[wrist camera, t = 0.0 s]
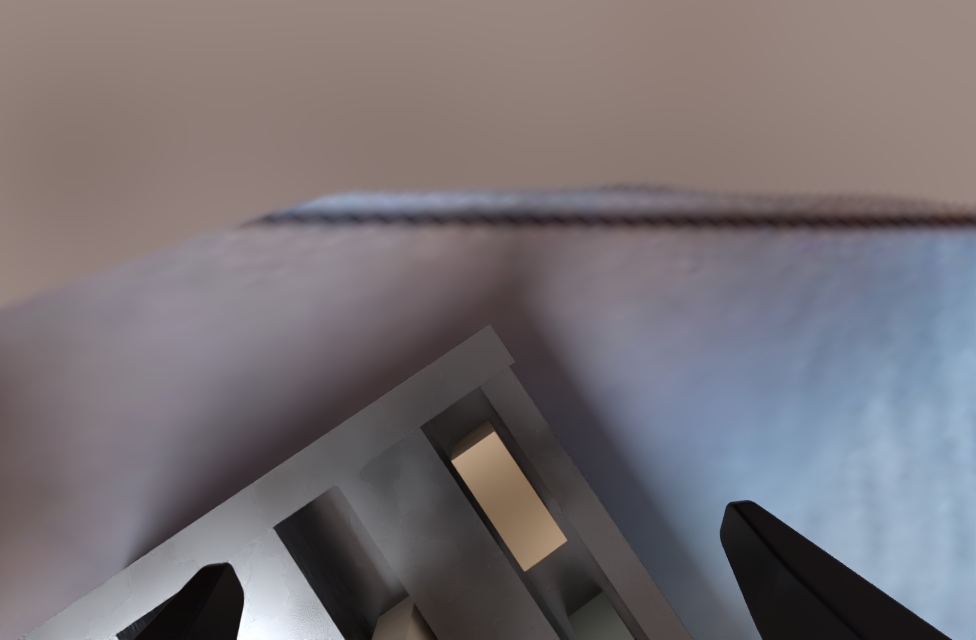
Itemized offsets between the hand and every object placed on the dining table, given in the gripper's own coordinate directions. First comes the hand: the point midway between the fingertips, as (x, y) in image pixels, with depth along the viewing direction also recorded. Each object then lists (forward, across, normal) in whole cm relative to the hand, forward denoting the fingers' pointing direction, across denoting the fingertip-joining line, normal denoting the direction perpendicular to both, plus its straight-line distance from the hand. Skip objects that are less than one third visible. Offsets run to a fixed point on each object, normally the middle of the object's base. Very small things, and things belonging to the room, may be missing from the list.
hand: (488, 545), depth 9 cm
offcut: (+10, -1, +9) cm, 14 cm away
